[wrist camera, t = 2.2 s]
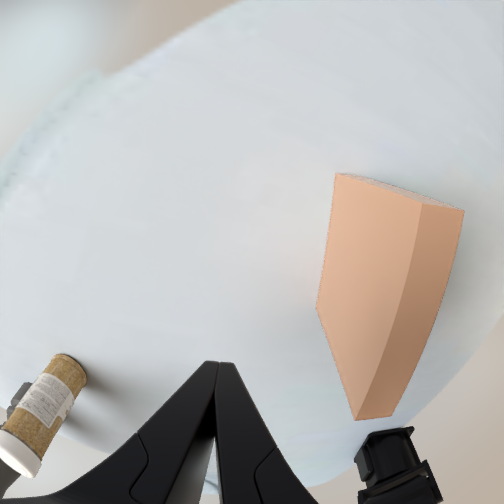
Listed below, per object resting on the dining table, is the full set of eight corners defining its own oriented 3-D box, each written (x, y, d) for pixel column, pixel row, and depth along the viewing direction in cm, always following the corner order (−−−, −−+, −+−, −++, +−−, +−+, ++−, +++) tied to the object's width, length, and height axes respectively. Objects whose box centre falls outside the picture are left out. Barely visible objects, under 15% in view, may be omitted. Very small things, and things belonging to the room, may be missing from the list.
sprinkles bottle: (77, 390, 26) (27, 481, 13) (47, 362, 25) (-14, 447, 12) (95, 376, 25) (40, 479, 12) (62, 344, 24) (-8, 440, 11)
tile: (363, 176, 19) (465, 210, 8) (340, 308, 22) (391, 416, 12) (335, 172, 19) (422, 202, 8) (315, 308, 22) (354, 420, 12)
